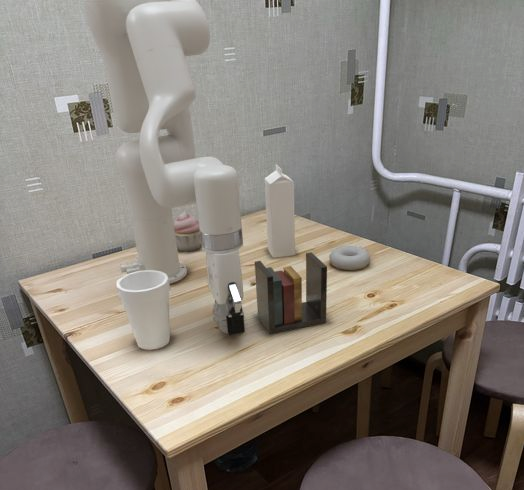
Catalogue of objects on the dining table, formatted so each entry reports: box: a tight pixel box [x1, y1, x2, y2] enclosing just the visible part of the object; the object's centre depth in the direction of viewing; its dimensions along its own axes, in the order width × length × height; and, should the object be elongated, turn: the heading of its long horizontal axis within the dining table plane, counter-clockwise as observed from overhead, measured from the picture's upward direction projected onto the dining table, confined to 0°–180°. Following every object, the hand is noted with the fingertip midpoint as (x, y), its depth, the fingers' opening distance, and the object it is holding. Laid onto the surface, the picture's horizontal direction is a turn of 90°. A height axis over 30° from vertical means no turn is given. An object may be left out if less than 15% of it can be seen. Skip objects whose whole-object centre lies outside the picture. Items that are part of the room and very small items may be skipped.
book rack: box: [254, 251, 328, 335], centre depth 104 cm, size 12×8×12 cm, turn 107°
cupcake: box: [173, 211, 201, 252], centre depth 142 cm, size 9×9×10 cm
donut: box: [328, 245, 371, 271], centre depth 129 cm, size 10×4×10 cm
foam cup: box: [115, 270, 171, 351], centre depth 99 cm, size 10×9×13 cm
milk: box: [264, 163, 296, 259], centre depth 133 cm, size 6×6×22 cm
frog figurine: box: [212, 297, 245, 335], centre depth 103 cm, size 6×7×7 cm
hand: (230, 321), depth 103 cm, fingers open, 9 cm apart
